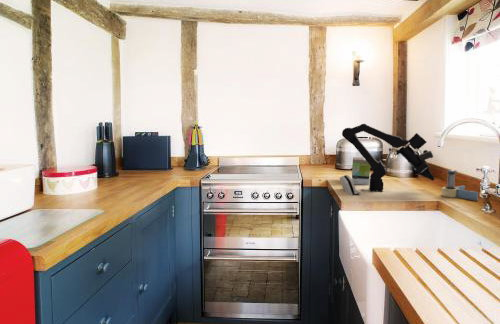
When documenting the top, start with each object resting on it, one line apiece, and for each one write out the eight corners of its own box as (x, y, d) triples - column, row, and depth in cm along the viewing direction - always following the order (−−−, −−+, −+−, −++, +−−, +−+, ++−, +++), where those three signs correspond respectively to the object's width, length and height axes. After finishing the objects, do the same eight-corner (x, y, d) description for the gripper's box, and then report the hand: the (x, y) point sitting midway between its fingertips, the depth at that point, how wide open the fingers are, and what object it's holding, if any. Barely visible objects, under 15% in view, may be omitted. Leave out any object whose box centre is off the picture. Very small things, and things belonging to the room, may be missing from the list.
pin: (448, 196, 184) (450, 170, 182) (443, 195, 188) (445, 169, 187) (456, 196, 185) (458, 170, 183) (451, 194, 189) (452, 169, 187)
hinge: (360, 195, 188) (354, 176, 186) (351, 198, 188) (345, 179, 187) (352, 188, 204) (346, 171, 203) (343, 191, 204) (338, 174, 203)
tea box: (369, 185, 216) (370, 159, 214) (351, 184, 218) (352, 159, 216) (368, 180, 230) (369, 157, 228) (351, 180, 233) (352, 156, 231)
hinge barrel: (448, 199, 178) (448, 191, 177) (437, 191, 196) (437, 184, 196) (478, 200, 175) (478, 192, 175) (464, 193, 194) (464, 185, 193)
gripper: (424, 146, 180) (448, 170, 177) (422, 143, 197) (444, 165, 194) (406, 161, 184) (429, 185, 181) (405, 158, 201) (427, 179, 198)
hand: (433, 178), depth 188 cm, fingers open, 9 cm apart
